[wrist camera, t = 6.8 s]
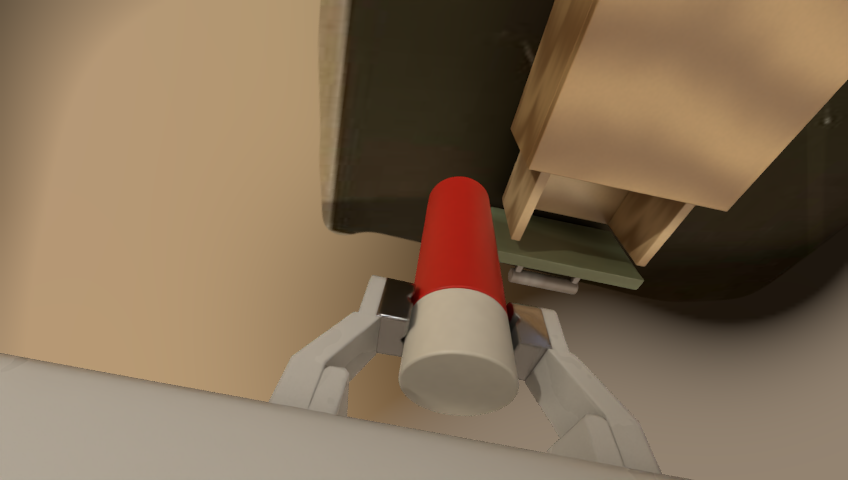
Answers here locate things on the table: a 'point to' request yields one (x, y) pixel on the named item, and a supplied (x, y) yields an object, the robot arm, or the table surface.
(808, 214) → the table surface
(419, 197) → the table surface
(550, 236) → the drawer
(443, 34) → the table surface
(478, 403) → the glue stick
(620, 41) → the cabinet
